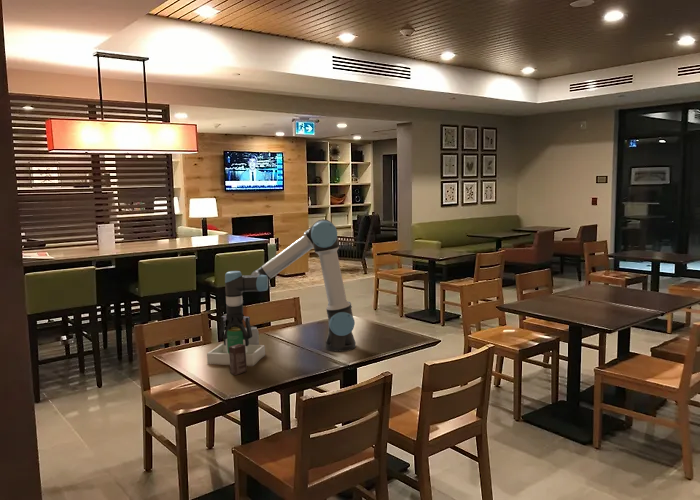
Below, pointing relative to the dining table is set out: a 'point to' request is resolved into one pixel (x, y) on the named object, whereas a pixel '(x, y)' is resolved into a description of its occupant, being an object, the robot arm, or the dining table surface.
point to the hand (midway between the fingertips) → (236, 352)
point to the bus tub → (223, 358)
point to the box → (237, 359)
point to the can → (254, 336)
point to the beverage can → (234, 337)
